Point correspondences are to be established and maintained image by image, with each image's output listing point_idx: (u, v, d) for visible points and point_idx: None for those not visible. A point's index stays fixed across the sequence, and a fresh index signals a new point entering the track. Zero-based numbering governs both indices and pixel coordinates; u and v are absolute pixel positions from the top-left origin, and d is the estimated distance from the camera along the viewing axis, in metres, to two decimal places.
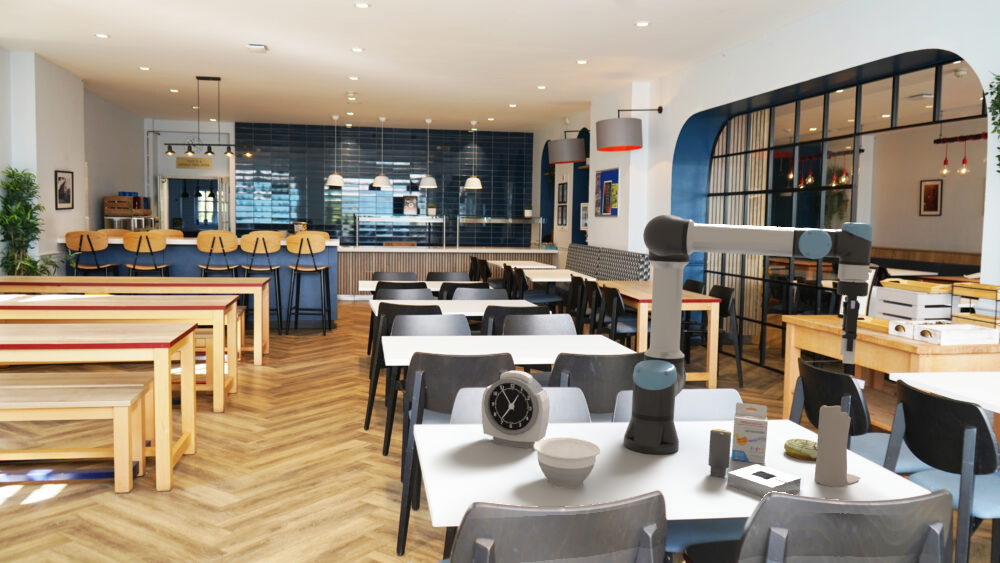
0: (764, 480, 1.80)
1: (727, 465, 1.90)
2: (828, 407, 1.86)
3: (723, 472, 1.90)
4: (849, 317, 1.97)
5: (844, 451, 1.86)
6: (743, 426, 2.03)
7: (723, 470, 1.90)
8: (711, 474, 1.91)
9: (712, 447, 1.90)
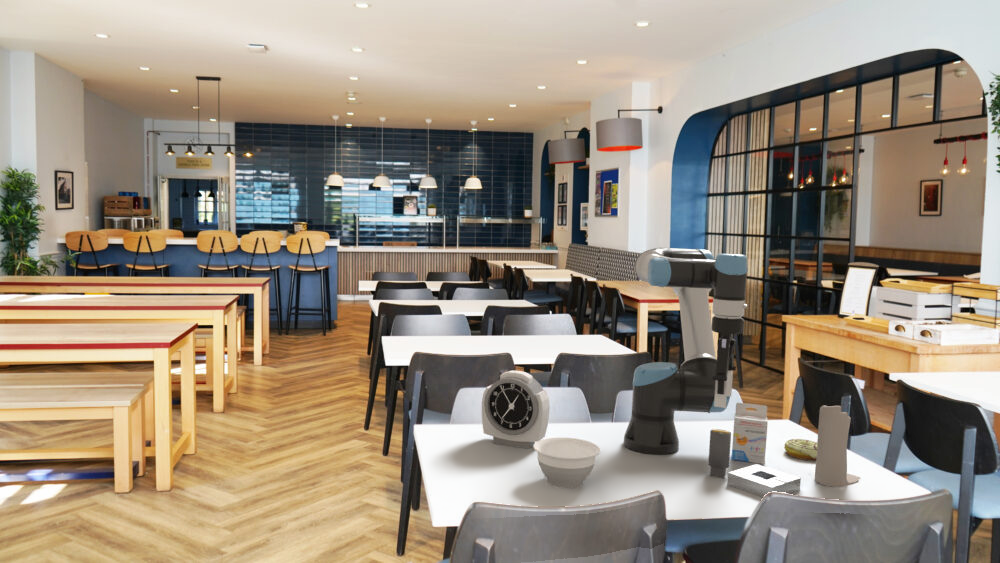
0: (764, 480, 1.80)
1: (727, 465, 1.90)
2: (828, 407, 1.86)
3: (723, 472, 1.90)
4: (720, 357, 1.82)
5: (844, 451, 1.86)
6: (743, 426, 2.03)
7: (723, 470, 1.90)
8: (711, 474, 1.91)
9: (712, 447, 1.90)
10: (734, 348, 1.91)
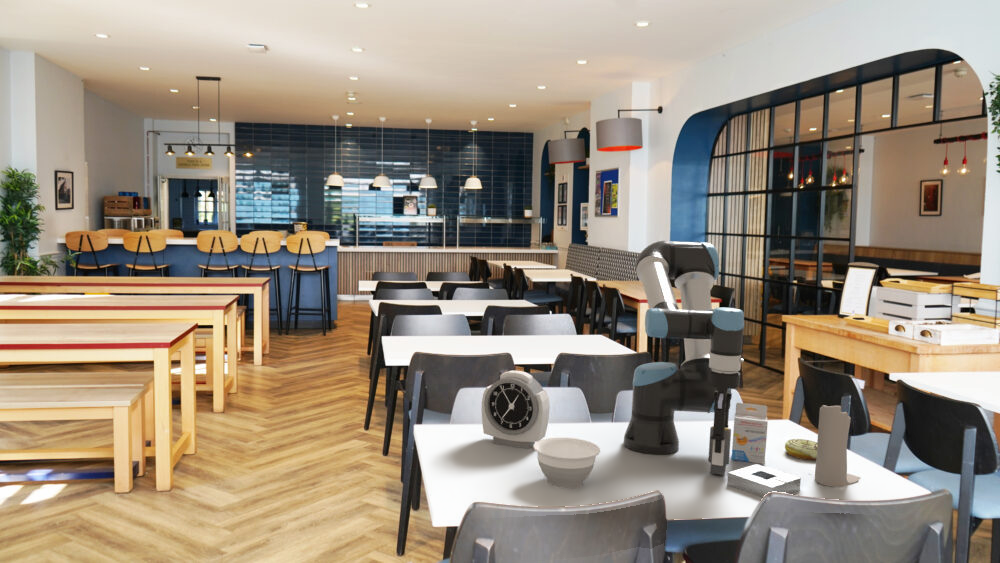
0: (764, 480, 1.80)
1: (727, 462, 1.90)
2: (828, 407, 1.86)
3: (723, 469, 1.90)
4: (716, 419, 1.85)
5: (844, 451, 1.86)
6: (743, 426, 2.03)
7: (723, 467, 1.90)
8: (711, 471, 1.91)
9: (712, 444, 1.90)
10: None
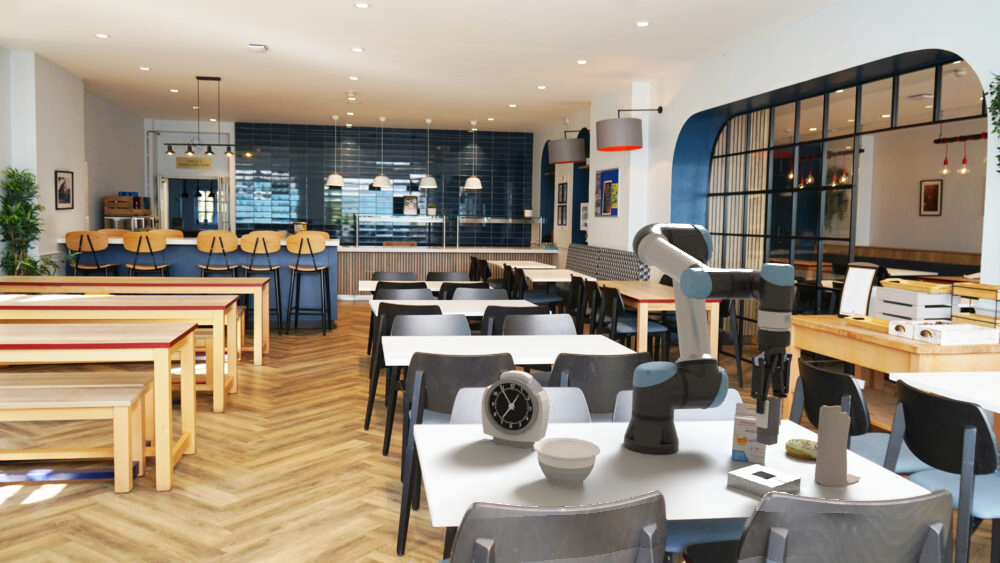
0: (764, 480, 1.80)
1: (773, 432, 1.80)
2: (828, 407, 1.86)
3: (768, 439, 1.81)
4: (754, 376, 1.78)
5: (844, 451, 1.86)
6: (743, 426, 2.03)
7: (768, 437, 1.80)
8: (757, 440, 1.83)
9: None
10: (783, 366, 1.81)
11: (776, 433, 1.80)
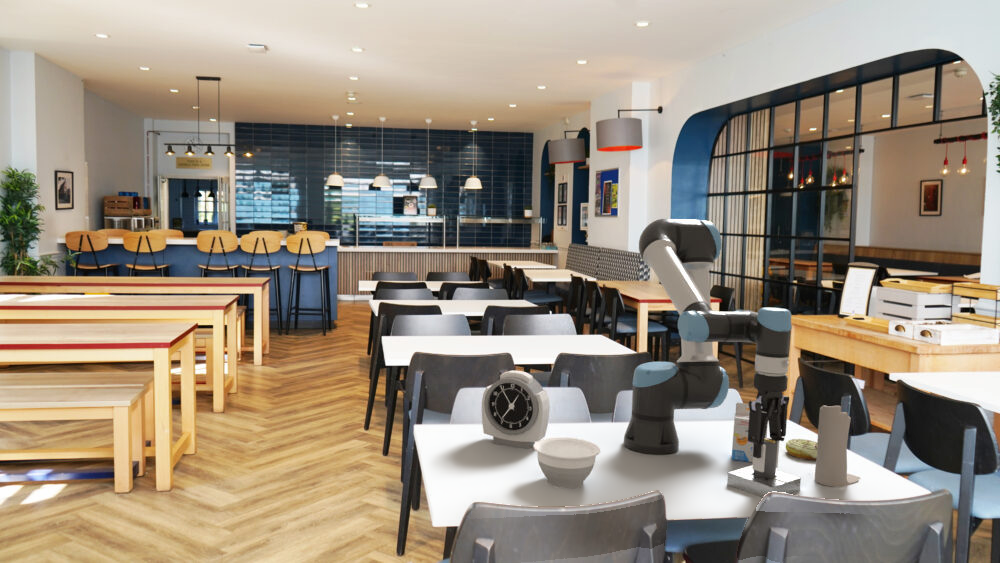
0: (764, 480, 1.80)
1: (769, 476, 1.81)
2: (828, 407, 1.86)
3: None
4: (751, 421, 1.79)
5: (844, 451, 1.86)
6: (743, 426, 2.03)
7: None
8: None
9: None
10: (780, 410, 1.82)
11: (773, 476, 1.82)
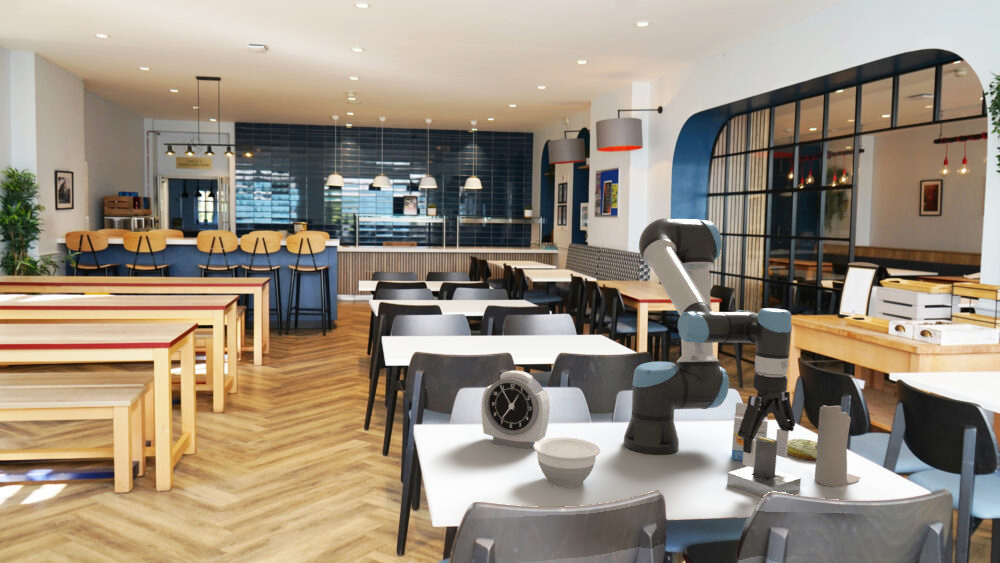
0: (764, 480, 1.80)
1: (769, 475, 1.81)
2: (828, 407, 1.86)
3: None
4: (746, 415, 1.78)
5: (844, 451, 1.86)
6: None
7: None
8: None
9: None
10: (783, 407, 1.83)
11: (772, 476, 1.82)
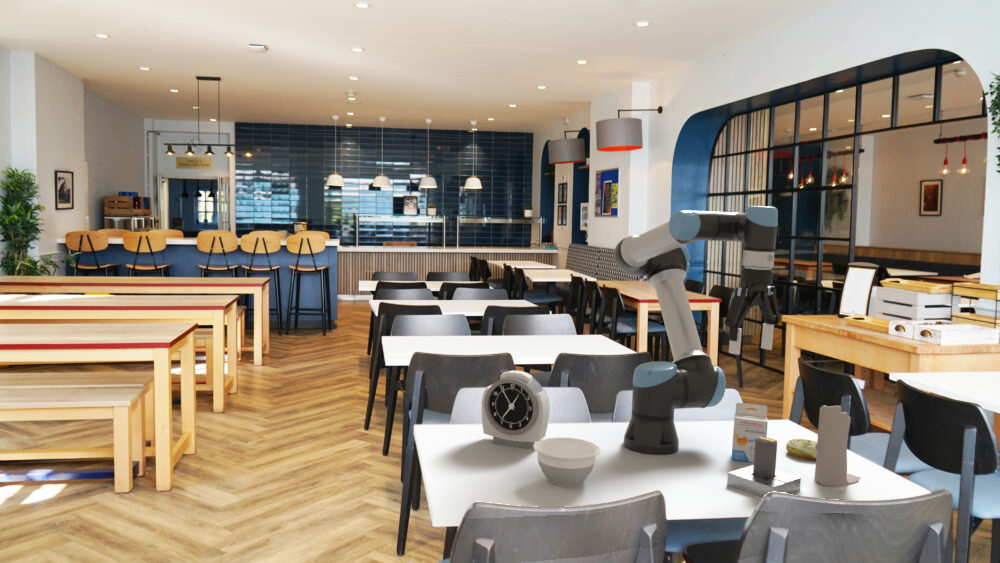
0: (764, 480, 1.80)
1: (769, 475, 1.81)
2: (828, 407, 1.86)
3: None
4: (733, 305, 1.87)
5: (844, 451, 1.86)
6: (743, 426, 2.03)
7: None
8: None
9: (754, 454, 1.83)
10: (768, 301, 1.93)
11: (772, 476, 1.82)
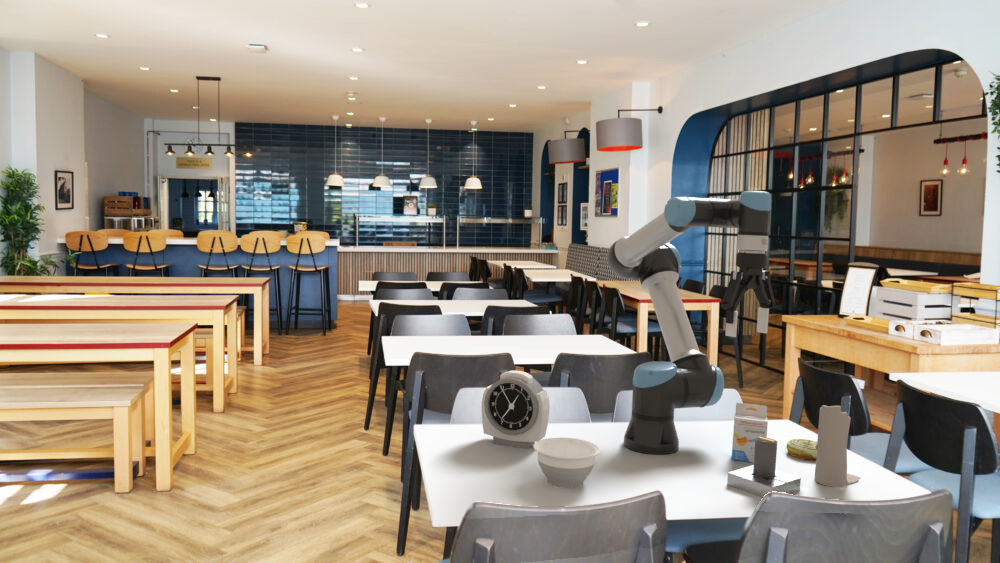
0: (764, 480, 1.80)
1: (769, 475, 1.81)
2: (828, 407, 1.86)
3: None
4: (729, 288, 1.91)
5: (844, 451, 1.86)
6: (743, 426, 2.03)
7: None
8: None
9: (754, 454, 1.83)
10: (763, 284, 1.96)
11: (772, 476, 1.82)
